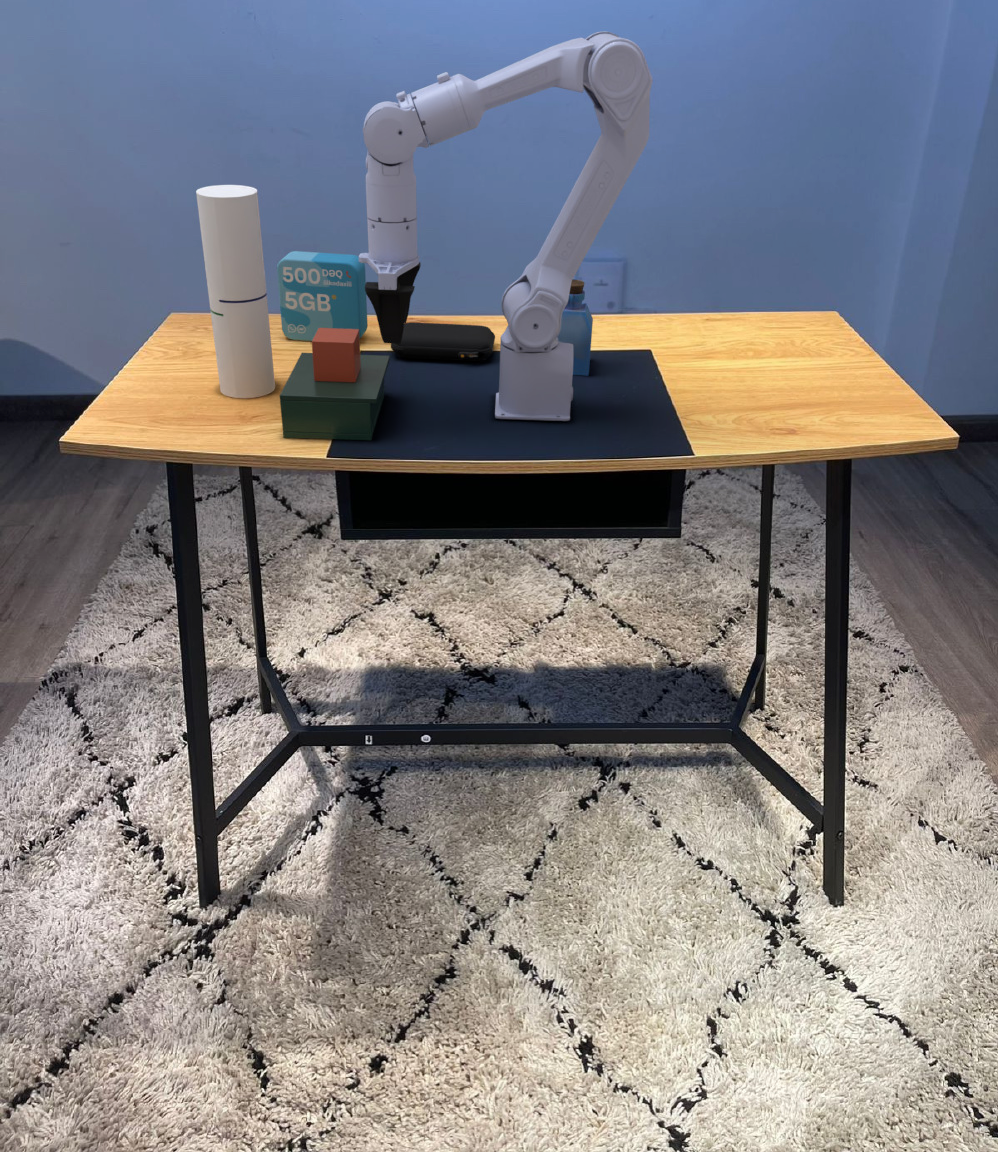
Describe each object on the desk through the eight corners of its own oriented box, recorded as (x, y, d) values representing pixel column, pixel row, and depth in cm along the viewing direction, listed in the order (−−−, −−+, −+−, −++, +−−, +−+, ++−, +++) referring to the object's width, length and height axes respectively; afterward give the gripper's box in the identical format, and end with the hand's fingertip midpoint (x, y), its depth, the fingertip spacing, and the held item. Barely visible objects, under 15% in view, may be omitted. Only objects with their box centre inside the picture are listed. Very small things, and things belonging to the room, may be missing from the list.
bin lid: (389, 360, 132) (389, 355, 132) (376, 403, 120) (376, 398, 120) (302, 356, 132) (301, 352, 132) (279, 399, 120) (279, 395, 120)
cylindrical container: (262, 400, 132) (242, 199, 119) (210, 395, 133) (185, 194, 120) (283, 381, 138) (266, 187, 125) (233, 375, 139) (211, 183, 126)
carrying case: (388, 363, 145) (491, 367, 144) (387, 342, 143) (492, 347, 143) (398, 338, 154) (495, 342, 153) (397, 318, 152) (495, 322, 152)
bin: (384, 394, 135) (383, 359, 132) (371, 440, 123) (369, 403, 120) (304, 392, 135) (302, 357, 132) (283, 437, 123) (279, 400, 120)
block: (360, 367, 128) (359, 329, 125) (355, 382, 124) (353, 342, 121) (321, 366, 128) (318, 327, 125) (314, 381, 124) (311, 341, 121)
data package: (282, 339, 152) (275, 258, 146) (291, 329, 156) (285, 250, 149) (361, 345, 151) (357, 263, 144) (368, 335, 155) (365, 255, 148)
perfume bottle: (589, 360, 148) (596, 277, 142) (588, 375, 143) (595, 290, 137) (547, 357, 149) (551, 275, 142) (544, 372, 143) (549, 287, 137)
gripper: (364, 202, 124) (369, 312, 131) (348, 231, 112) (355, 351, 119) (423, 204, 124) (424, 314, 131) (413, 233, 112) (415, 352, 119)
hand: (395, 332), depth 125 cm, fingers open, 7 cm apart
